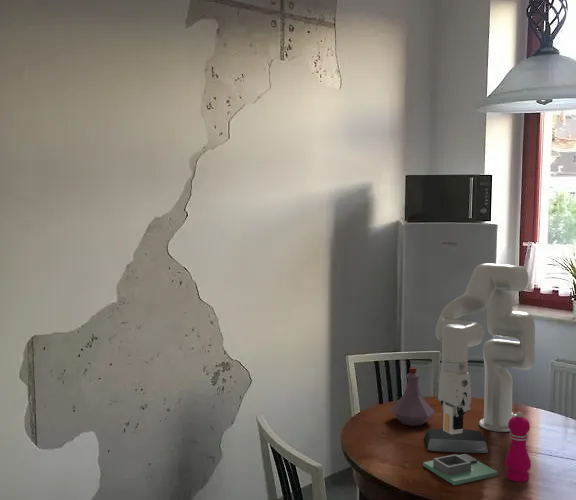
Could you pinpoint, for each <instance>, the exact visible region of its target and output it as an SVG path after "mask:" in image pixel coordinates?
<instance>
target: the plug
mask: <svg viewBox="0 0 576 500" xmlns="http://www.w3.org/2000/svg"><path fill="white" fill-rule="evenodd" d="M459 410H460V408H458V411H459ZM443 412H444V414H443V417H442V418H443V419H442V429H443V431H445V432H447V433H449V434H451V435H452V434H458V433H462V429H464V427H463V428H462V429H457V430H454V429H453V416H455V410H454V406H453V405H451V404H449V403H448V404H444V411H443Z"/></svg>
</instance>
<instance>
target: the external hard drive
mask: <svg viewBox="0 0 576 500" xmlns="http://www.w3.org/2000/svg"><path fill="white" fill-rule="evenodd" d="M424 439H425V444H426V449H427V451H434V452H447V453H449V452H450V453H465V454H468V453H470V454H471V453H472V454H477V453H479V454H481V453H483V454H484V453H485V454H486V453H489V449H488V445H487V442H486V440H485V438H484V436H483V434H482V432H481V431H480V430H474V429H464V428H463V429H462V433H458V434H452V435H451V434H449V433H447V432H445V431H443V428H429V429H427V430H426V433H425V435H424Z"/></svg>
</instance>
